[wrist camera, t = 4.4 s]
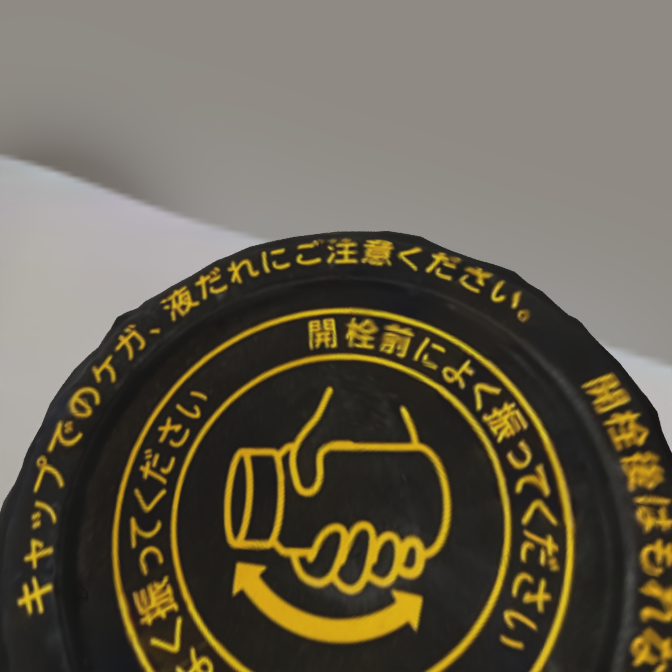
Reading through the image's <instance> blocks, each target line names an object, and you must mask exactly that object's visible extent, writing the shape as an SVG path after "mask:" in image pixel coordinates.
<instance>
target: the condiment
mask: <svg viewBox="0 0 672 672" xmlns="http://www.w3.org/2000/svg"><path fill="white" fill-rule="evenodd" d="M0 672H672V452H671V450H670V448H669V446H668V444H667V441H666V439H665V437H664V434H663V432H662V428H661V425H660V421H659V417H658V413H657V411H656V409H655V408H654V407H653V405H652V404H651V402H650V401H649V399H648V398H647V396H646V395H645V394H644V393H643V392H642V391H641V390H640V388H639V387H638V386H637V385H636V383H635V382H634V381H633V379H632V378H631V377H630V376H629V374H628V373H627V372H626V370H625V369H624V368H623V367H622V365H621V364H620V363H619V362H618V361H617V360H616V359H615V358H614V357H613V356H612V355H611V354H610V353H609V352H608V351H607V350H606V349H605V348H604V347H603V346H602V345H601V344H600V343H599V342H598V341H597V340H596V339H595V338H594V337H593V336H592V335H591V334H590V333H589V332H588V330H587V329H586V328H585V327H584V325H583V324H582V323H581V322H580V321H578V320H577V319H576V318H574V317H572V316H569V315H568V314H567V313H565V312H564V311H563V310H562V309H561V308H560V307H558V306H557V305H556V304H555V303H554V302H553V301H552V300H551V299H550V298H549V297H547V296H546V295H545V294H544V293H543V292H542V291H540V290H539V289H537V288H535V287H534V286H532V285H530V284H528V283H527V282H526V281H525V280H524V279H522V278H521V277H520V276H519V275H518V274H517V273H515V272H513V271H511V270H508V269H505V268H503V267H500V266H497V265H494V264H490V263H487V262H483V261H479V260H476V259H473V258H470V257H467V256H464V255H462V254H459V253H456V252H453V251H450V250H448V249H446V248H443V247H441V246H439V245H437V244H434V243H432V242H430V241H428V240H426V239H424V238H423V237H420V236H415V235H409V234H403V233H397V232H390V231H381V232H360V231H359V232H331V233H322V234H314V235H307V236H298V237H292V238H287V239H281V240H276V241H272V242H268V243H264V244H260V245H256V246H252V247H248V248H246V249H244V250H241V251H239V252H237V253H235V254H232V255H230V256H228V257H225V258H222V259H220V260H217V261H215V262H213V263H212V264H210V265H208V266H207V267H205V268H203V269H202V270H200V271H199V272H197V273H195V274H194V275H192V276H190V277H188V278H186V279H184V280H183V281H181V282H179V283H177V284H175V285H173V286H171V287H170V288H168V289H167V290H165V291H163V292H162V293H160V294H158V295H156V296H154V297H153V298H151V299H149V300H147V301H145V302H144V303H143V304H142V305H141V306H140V307H138V308H137V309H134V310H132V311H129V312H126V313H124V314H122V315H121V316H119V317H117V318H116V320H115V322H114V324H113V326H112V328H111V329H110V331H109V332H108V333H107V334H106V336H105V338H104V339H103V341H102V342H101V344H100V346H99V347H98V348H97V349H96V350H95V351H93V352H92V353H91V354H90V355H89V356H88V357H87V358H86V359H85V360H84V361H83V362H82V363H81V364H80V365H79V366H78V367H76V368H75V369H74V371H73V372H72V373H71V375H70V376H69V377H68V379H67V380H66V381H65V383H64V384H63V385H62V387H61V388H60V390H59V391H58V393H57V394H56V396H55V397H54V399H53V400H52V402H51V403H50V405H49V408H48V410H47V413H46V415H45V418H44V420H43V423H42V425H41V427H40V429H39V431H38V432H37V434H36V436H35V438H34V440H33V441H32V443H31V445H30V447H29V449H28V451H27V453H26V456H25V458H24V462H23V466H22V468H21V471H20V473H19V475H18V478H17V480H16V482H15V484H14V486H13V487H12V489H11V491H10V492H9V494H8V495H7V497H6V499H5V500H4V502H3V505H2V508H1V511H0Z"/></svg>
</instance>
